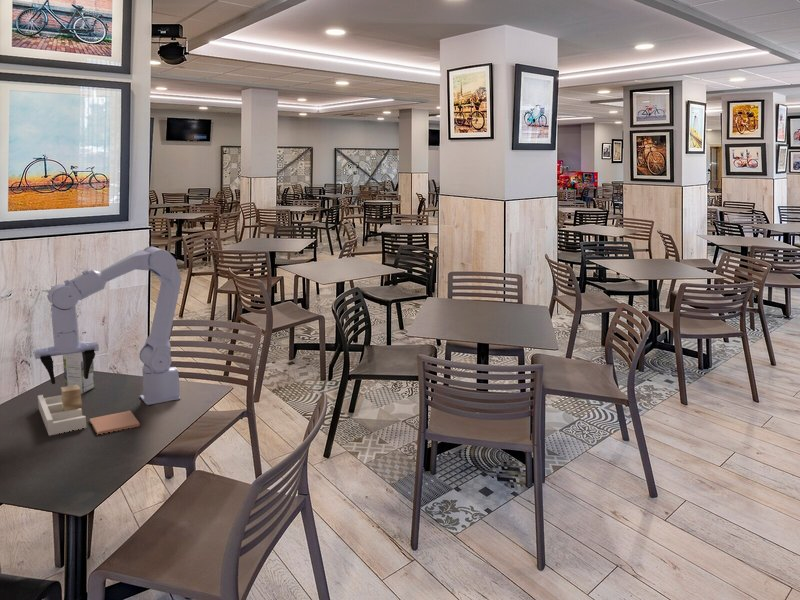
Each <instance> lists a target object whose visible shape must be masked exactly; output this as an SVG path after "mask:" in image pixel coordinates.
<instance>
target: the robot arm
mask: <svg viewBox="0 0 800 600" xmlns="http://www.w3.org/2000/svg"><path fill="white" fill-rule="evenodd" d="M177 265H178V264H177V259H176V258H175V256H174V255H172V254H171V252H169V251H168V250H164V249H161V248H158V247H156V246H147V247H145V248H144V249H139V250H137V251H135V252H133V253H132V254H129V255H128V256H126V257H124V258H122V259H120V260H118V261H116V262H115V263H113V264H111V265H109V266H107V267H105V268H103V269H101V270H100V271H98V270H95V269H91V270H88V269H85V270H83V271H81V273H82V274H80V275H78V276H75V277H74V278H72V279H65V280H63V282H64V283H62V284H61V283H60V284H59V283H58V284H54V285H53V286H52V287H51V288H50V289H49V290H48V294H47V295H46V296H47V300H48V301H49V303H51V306H50V307H51V310H50V311H51V324H52V325H51V326H52V335H53V346H49V347H45V348H40V349H33V350H34V352H33V353H34V359H35V360H40V362H41V363H42V364H43V366H44V368H45V369H46V371H47V373H48V375H49V378H50V383H51V385H56V378H55V374H54V360H53V357H56V356H57V357H58V356H63V355H65V354H73V353H80V352H82V356H83V365H84V378H85V379H88V375H89V370H90V366H91V364H92V361H93V362H94V359H95V356H96V352H99V351H100V349H99V347H100V345H99V343H98V342H96V341H95V342H90V343H79V341H80V337H79V336H80V334H79V324H78V323H79V322H78V313H77V310H76V309H77V308H76V307H77V304H78V303H79V301H83V300H84V299H86V298H88V297H90V296H92V295H94V294H96V293H98V292H101V291H102V290H104V289H105V286H106V284H107V283H108V282H109V281H112V280H115V279H118V278H119V277H121V276H123V275H126V274H128V273H131V272H133V271H135V270H139V271H140V270H141V271H151V272H152V273H153V274H154V275H155V276H156V278H157V279H158V280H159V281H160V284H159V285H160V286H159V292H158V295H157V300H156V306H155V310H154V315H153V319H152V323H151V329H150V334H149V335H148V337H147V338H146V339H145V343H144V345H143V347H141V349H140V351H139V360H140V362H142V363H143V367H142V384H143V385H142V386H143V387H142V388H143V394H140V395H139V398H140V399H141V400H142V401H143V403H144V404H145V405H146V406H150V405H155V404H156V405H157V404H159V403H161V404H162V403H166V402H172V401H175V400H176V401H177V400H180V399H181V396H180V395H181V392H180V377H179V372H178V369H177V367H176V366H171V365H172V361H173V359H172V356H171V350H172V346H171V341H170V336H171V331H172V327H173V323H174V316H175V313H176V312H175V311H176V306H177V303H178V299H179V293H180V288H181V284H182V276H181V273H180V270H179V268H178V266H177Z"/></svg>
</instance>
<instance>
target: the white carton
mask: <svg viewBox="0 0 800 600" xmlns="http://www.w3.org/2000/svg"><path fill="white" fill-rule="evenodd" d="M79 343H91V342H89V341H83V340H79ZM62 360H63V375H64V377H63V378H64V387H66V386H72V385H78V386H79V387H80V390H81V395H83V394H85V393H87V392H89V391H90V390H92V389H95V386H96V383H95V371H94V370H95V369H94V368H95V367H94V365H95V363H94V360H93V361H92V364H91V366H90V370H89V375H88V379H85V378H84V365H83V356H82V352H80V353H73V354H65V355H62Z"/></svg>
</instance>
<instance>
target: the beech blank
mask: <svg viewBox="0 0 800 600" xmlns="http://www.w3.org/2000/svg"><path fill="white" fill-rule="evenodd" d="M60 392H61V394H60V395H62V405H63V411H68V410H73V409H79V408H81V409H82V410H83V405H82V404H83V403H82V394H81V390H80V387H79V386H78V385H72V386H66V387H65V386H61V387H60ZM82 416H84V414H83V413H82Z"/></svg>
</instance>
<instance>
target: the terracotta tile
mask: <svg viewBox="0 0 800 600" xmlns="http://www.w3.org/2000/svg"><path fill="white" fill-rule="evenodd" d="M89 422H90V424H92V425H91V426H92V427H93V430H94V432H95V433H97V434H96V436H99V435H98V434H101V435H104V434H103V433H105V434H109V433H108V432H110V433H113V431H115V432H118V430H119V431H123V430H122V429H124V430H128V428H129V429H132V428H138V427H140V426H141V425H140V422H139V420H138V419H137V418H136V416H135V415H134V414H133V412H132V411H131V410H127V411H122V412H117V413H111V414H105V415H101V416H96V417H92V418H89Z"/></svg>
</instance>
